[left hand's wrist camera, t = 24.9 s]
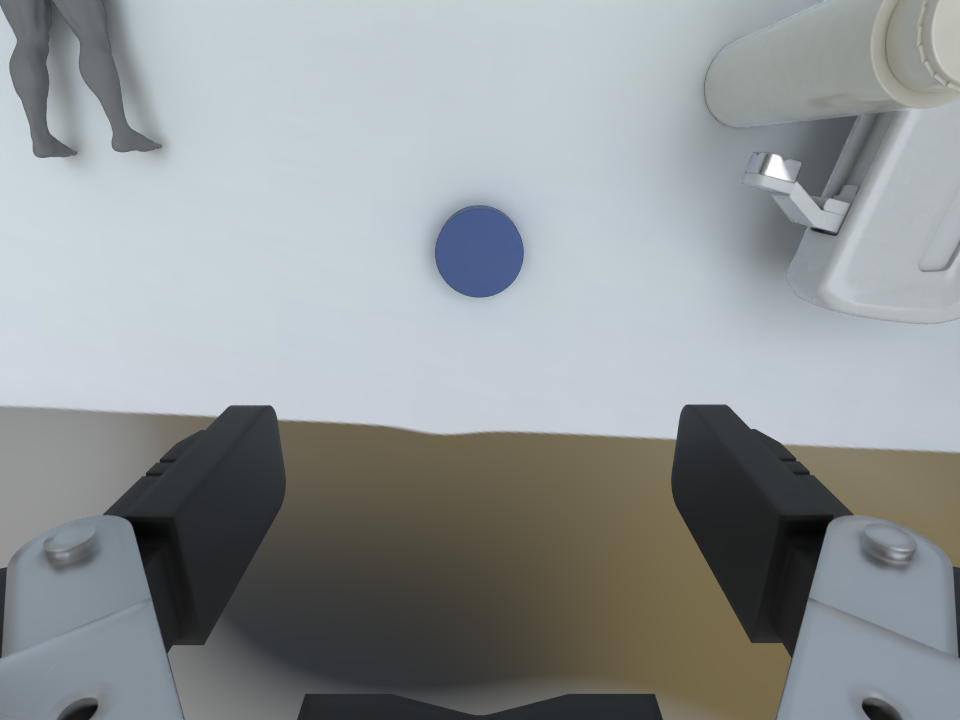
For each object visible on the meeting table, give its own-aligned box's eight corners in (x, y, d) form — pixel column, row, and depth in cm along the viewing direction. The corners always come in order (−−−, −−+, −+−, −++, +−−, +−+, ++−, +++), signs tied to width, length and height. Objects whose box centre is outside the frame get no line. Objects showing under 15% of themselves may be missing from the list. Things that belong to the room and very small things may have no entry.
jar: (691, 65, 31) (897, -21, 15) (771, 18, 30) (1070, -123, 15) (721, 143, 32) (936, 133, 17) (798, 100, 31) (1097, 48, 16)
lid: (537, 253, 34) (541, 259, 32) (474, 305, 35) (474, 314, 33) (484, 187, 33) (485, 189, 31) (420, 243, 34) (416, 248, 32)
